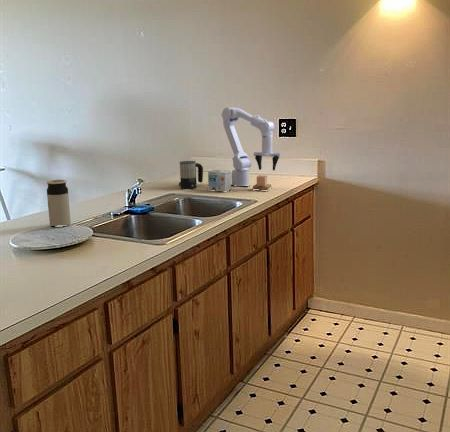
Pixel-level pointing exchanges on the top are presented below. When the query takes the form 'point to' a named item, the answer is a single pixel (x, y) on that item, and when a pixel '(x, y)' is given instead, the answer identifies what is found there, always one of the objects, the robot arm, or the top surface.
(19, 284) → the top surface
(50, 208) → the travel mug
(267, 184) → the plinth
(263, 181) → the block
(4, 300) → the top surface
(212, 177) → the light bulb box
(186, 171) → the milk frother
